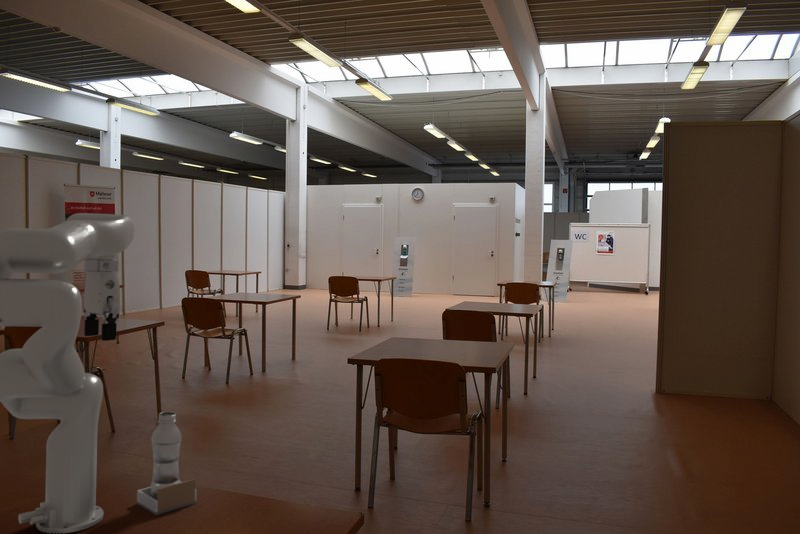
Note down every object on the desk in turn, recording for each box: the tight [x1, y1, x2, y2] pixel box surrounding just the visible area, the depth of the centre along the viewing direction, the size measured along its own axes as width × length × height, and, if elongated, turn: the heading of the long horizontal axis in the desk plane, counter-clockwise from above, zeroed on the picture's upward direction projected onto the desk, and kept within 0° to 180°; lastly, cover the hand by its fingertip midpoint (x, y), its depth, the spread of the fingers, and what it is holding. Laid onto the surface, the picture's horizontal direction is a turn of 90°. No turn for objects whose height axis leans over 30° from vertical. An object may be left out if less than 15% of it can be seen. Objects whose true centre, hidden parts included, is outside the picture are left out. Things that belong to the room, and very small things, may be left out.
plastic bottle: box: [150, 411, 182, 500], centre depth 142 cm, size 6×7×20 cm
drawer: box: [136, 478, 198, 516], centre depth 142 cm, size 10×9×6 cm
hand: (99, 337), depth 150 cm, fingers open, 9 cm apart
